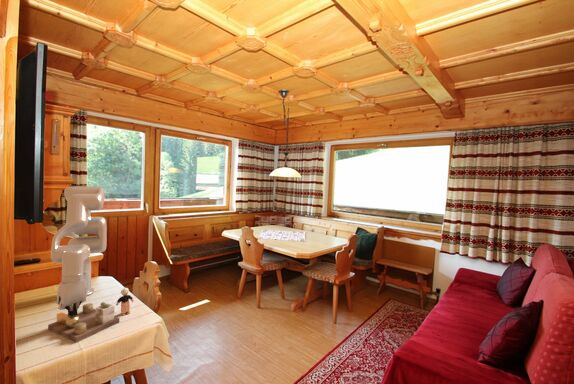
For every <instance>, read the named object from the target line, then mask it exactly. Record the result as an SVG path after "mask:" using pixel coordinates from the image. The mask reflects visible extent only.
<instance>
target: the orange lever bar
mask: <svg viewBox="0 0 574 384" xmlns="http://www.w3.org/2000/svg"><path fill="white" fill-rule="evenodd" d="M56 322H60V323H62V324H65V325H66V328H67V329H73V328H74V326H75V325H76V324H78V323H79V316H77V315H74V316H70V315H68V313H67V314H66V313H64V312H59V313H57V314H56Z"/></svg>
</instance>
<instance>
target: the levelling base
mask: <svg viewBox="0 0 574 384" xmlns="http://www.w3.org/2000/svg"><path fill="white" fill-rule="evenodd" d="M77 316H79V323H78V324H76V325H75V326H74V328H73V329H67V328H66V325H65V324H62V323H60V322H57V321H55V322H52V323H50V324H48V325H47V330H48V331H51V332H52V333H55V334H57V335H59V336H61V337H63V338H66V339H68V340H70V341H73V342H74V343H79V342H81V341H83V340H85V339H88V338H90V337H91V336H94V335H95V334H97V333H100V332H102V331H104V330H107V329H109V328H110V327H112V326H114V325H117V324H119V323H120V317H118V316H115V305H113V304H111V303H108V302H104V301H102V302H100V306H97V307H95V308H94V304H93V303H85V304H82V311H81V312H77Z"/></svg>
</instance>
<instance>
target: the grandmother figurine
mask: <svg viewBox="0 0 574 384" xmlns="http://www.w3.org/2000/svg"><path fill="white" fill-rule="evenodd" d="M129 292H130V290H129V288H128V287H123V288H122V289H121V290H120V294H122V296H120V297H119V298H118V299H117V301H116V303H115V305H116V306H118V305H119V304H120V316H122V317H123V316H126V314H127V315H130V314H131V306H130V305H131V304H130V301H131V303H133V302H134V301H135V300H134V298H133V296H131V295H130V294H129Z"/></svg>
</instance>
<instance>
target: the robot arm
mask: <svg viewBox="0 0 574 384" xmlns="http://www.w3.org/2000/svg"><path fill="white" fill-rule="evenodd" d="M63 194H64V198H65V200H66V201H67V202H66V203H67V207H66V217H65V223H64V224H63V226H62V227H60V228H59V229H58V230H57V231H56V233H55V234H54V236H53V237H52V241H51V247H50V260H51V262H53V263H54V264H55V263H56V264H61V281H60V282H59V284H58V288H57V292H56V293H57V294H56V304H57V305H58V307H57V308H58V310H60V311H62V310H63V311H64V310H66V311H67V315H70V316H74V315H77V314H78V310H79V308H80V305H82V304H83V303H84V302H86V301H87V298H88V296H91V294H93V293H94V292H95V288H93V287H92V260H91V258H90V256H91V254H98V253H99V254H101V253H103V252H105V251H106V249H107V242H108V241H107V240H108V239H107V238H108V237H107V234H108V233H107V231H108V229H107V228H108V227H107V220H106V218H105V217H103V216H92V215H91V211H101V210H102V209H103V207H104V202H105V190H104V188H103V187H101V186H86V185H85V186H83V185H82V186H78V185H77V186H76V185H75V186H67V187H66V188H64V191H63ZM71 233H72V234H74V235H87V236H76V237H72V238H71V239H69V241H68V243H67V245H66V244H65V245H60V244H61V241H62V240H63V238H64V237H66V236H68V235H69V234H71ZM88 235H89V236H88Z"/></svg>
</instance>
